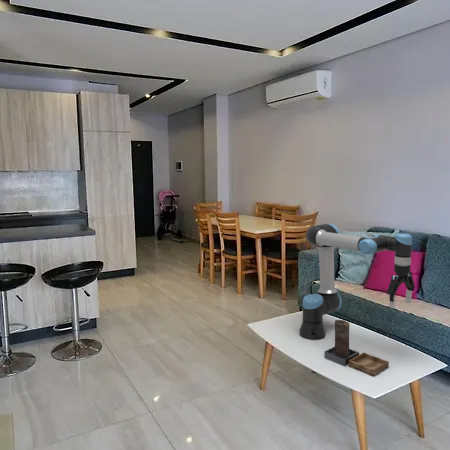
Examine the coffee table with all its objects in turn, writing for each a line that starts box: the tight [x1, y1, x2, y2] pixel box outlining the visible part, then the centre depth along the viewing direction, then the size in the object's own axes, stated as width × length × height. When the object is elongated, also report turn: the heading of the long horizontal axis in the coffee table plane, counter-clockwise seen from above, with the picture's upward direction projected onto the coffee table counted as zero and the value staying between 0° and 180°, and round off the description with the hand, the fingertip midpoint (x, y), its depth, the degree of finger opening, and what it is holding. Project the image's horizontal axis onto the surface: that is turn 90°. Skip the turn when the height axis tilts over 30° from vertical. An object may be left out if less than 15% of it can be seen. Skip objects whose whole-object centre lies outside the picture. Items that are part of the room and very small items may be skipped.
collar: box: [323, 346, 360, 367], centre depth 206 cm, size 12×12×4 cm
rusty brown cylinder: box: [334, 319, 350, 358], centre depth 205 cm, size 8×7×20 cm
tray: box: [348, 352, 390, 377], centre depth 197 cm, size 14×14×3 cm
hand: (400, 305), depth 204 cm, fingers open, 13 cm apart
